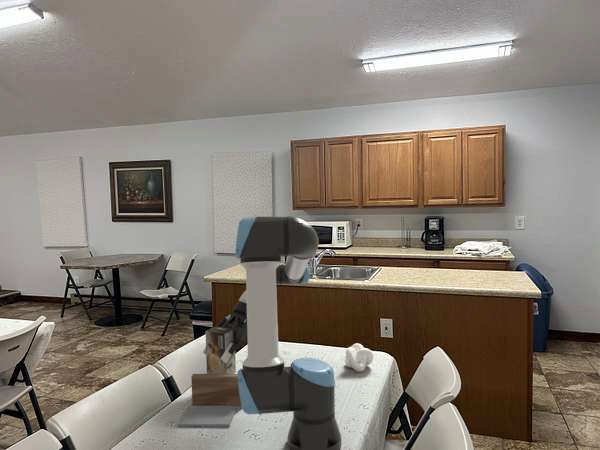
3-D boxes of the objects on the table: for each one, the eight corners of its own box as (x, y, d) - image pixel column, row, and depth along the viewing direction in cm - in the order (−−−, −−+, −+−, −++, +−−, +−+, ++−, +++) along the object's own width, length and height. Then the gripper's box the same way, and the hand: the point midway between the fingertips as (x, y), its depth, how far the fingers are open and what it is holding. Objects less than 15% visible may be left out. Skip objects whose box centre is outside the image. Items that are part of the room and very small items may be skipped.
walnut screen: (248, 405, 140) (247, 376, 139) (192, 405, 141) (191, 376, 140) (249, 402, 142) (248, 373, 141) (194, 402, 143) (193, 373, 142)
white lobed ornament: (365, 376, 161) (365, 354, 161) (337, 370, 167) (337, 348, 167) (376, 366, 171) (375, 345, 170) (349, 361, 177) (349, 340, 177)
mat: (229, 426, 127) (229, 424, 126) (177, 426, 127) (177, 424, 127) (236, 409, 138) (236, 406, 137) (188, 408, 138) (188, 406, 138)
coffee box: (236, 372, 152) (235, 328, 151) (226, 378, 146) (224, 333, 146) (217, 368, 156) (215, 325, 156) (205, 374, 151) (204, 330, 150)
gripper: (272, 316, 154) (240, 370, 143) (233, 307, 170) (202, 355, 159) (261, 304, 150) (227, 359, 139) (222, 296, 165) (189, 345, 154)
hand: (214, 357), depth 149 cm, fingers closed on coffee box, 10 cm apart
